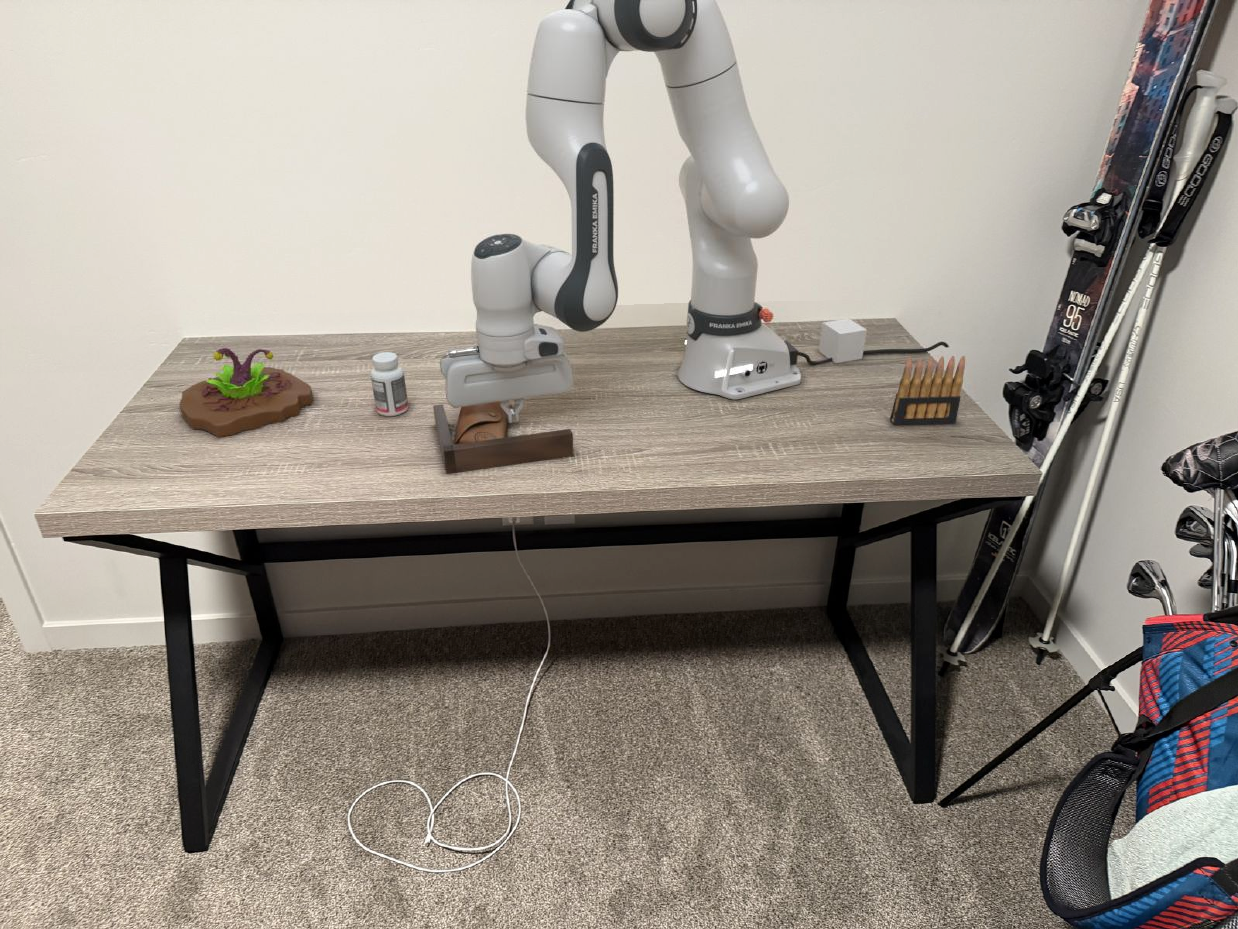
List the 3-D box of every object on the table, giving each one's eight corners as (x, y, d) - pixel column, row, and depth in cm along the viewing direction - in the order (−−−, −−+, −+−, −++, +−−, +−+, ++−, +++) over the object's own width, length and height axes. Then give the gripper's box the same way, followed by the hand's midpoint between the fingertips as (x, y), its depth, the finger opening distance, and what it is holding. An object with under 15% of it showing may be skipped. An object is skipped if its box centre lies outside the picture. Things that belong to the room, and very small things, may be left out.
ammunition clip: (951, 418, 144) (966, 353, 138) (955, 423, 142) (971, 357, 136) (889, 420, 143) (902, 354, 137) (893, 425, 142) (906, 359, 135)
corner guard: (552, 411, 145) (551, 390, 143) (573, 456, 132) (572, 433, 130) (435, 426, 140) (433, 405, 138) (446, 474, 128) (443, 451, 126)
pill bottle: (406, 400, 148) (399, 348, 143) (410, 414, 144) (403, 361, 138) (374, 405, 146) (366, 352, 141) (378, 419, 142) (369, 365, 137)
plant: (162, 405, 145) (143, 345, 139) (270, 370, 157) (257, 313, 151) (216, 447, 134) (198, 383, 128) (328, 405, 146) (316, 345, 140)
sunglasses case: (509, 457, 131) (484, 424, 128) (471, 477, 132) (445, 446, 129) (513, 402, 146) (491, 373, 143) (479, 422, 148) (456, 392, 145)
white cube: (835, 363, 162) (840, 334, 159) (818, 351, 167) (822, 322, 164) (862, 358, 164) (867, 329, 161) (844, 346, 169) (848, 318, 166)
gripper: (440, 360, 126) (451, 440, 134) (574, 342, 131) (577, 421, 139) (435, 343, 131) (446, 421, 139) (564, 327, 136) (568, 403, 144)
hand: (512, 421), depth 139 cm, fingers closed, pressing on sunglasses case
